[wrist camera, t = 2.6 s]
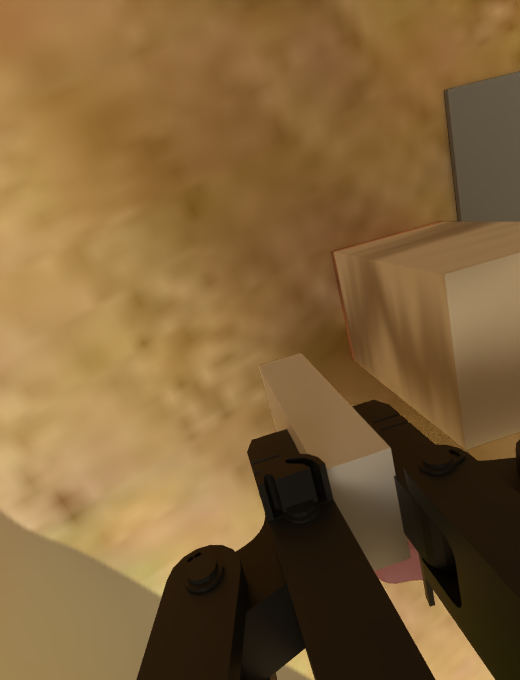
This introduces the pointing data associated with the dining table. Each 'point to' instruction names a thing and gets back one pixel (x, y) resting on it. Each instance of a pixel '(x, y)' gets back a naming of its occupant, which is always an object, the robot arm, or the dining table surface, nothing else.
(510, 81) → the mat
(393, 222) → the dining table surface
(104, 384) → the dining table surface
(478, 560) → the robot arm
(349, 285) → the tall block
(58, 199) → the dining table surface
